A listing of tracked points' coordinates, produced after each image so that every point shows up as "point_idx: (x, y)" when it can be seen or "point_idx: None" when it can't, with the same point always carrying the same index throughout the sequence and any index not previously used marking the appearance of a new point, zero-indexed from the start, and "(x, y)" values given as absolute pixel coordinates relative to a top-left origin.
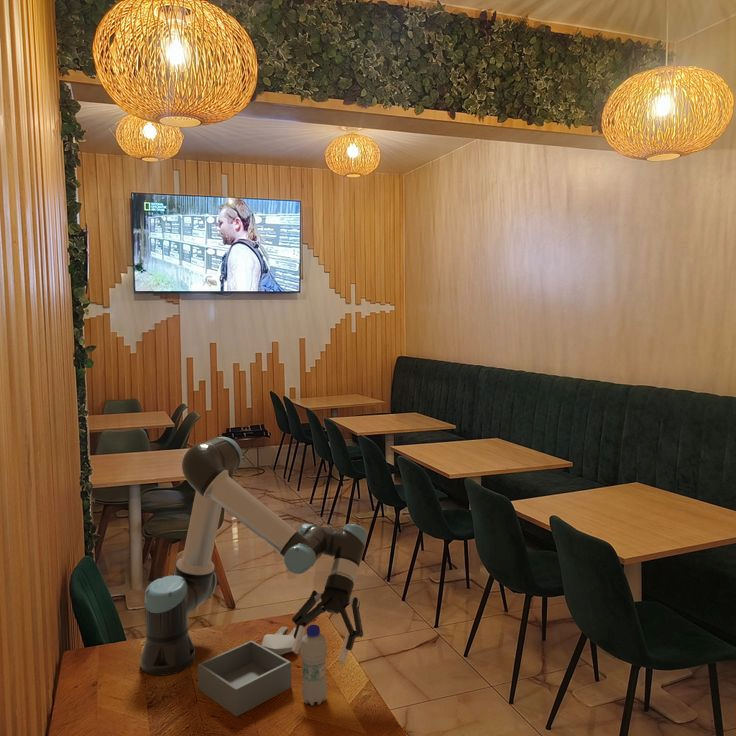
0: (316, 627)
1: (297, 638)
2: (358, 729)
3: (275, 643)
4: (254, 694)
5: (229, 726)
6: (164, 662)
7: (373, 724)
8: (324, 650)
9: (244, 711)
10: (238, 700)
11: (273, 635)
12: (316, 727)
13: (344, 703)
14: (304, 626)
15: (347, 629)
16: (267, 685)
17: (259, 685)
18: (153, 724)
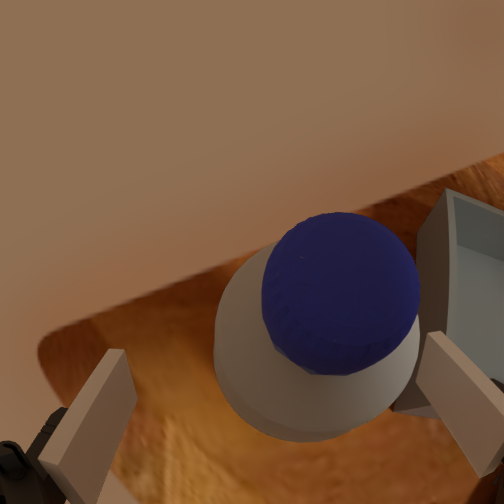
0: (298, 263)
1: (467, 369)
2: (101, 311)
3: None
4: (429, 263)
5: (401, 202)
6: None
7: (73, 342)
8: (214, 343)
9: (417, 251)
10: (432, 215)
11: None
12: (208, 277)
13: (180, 411)
14: (501, 480)
15: (43, 501)
16: (429, 305)
17: (437, 270)
18: (490, 170)
